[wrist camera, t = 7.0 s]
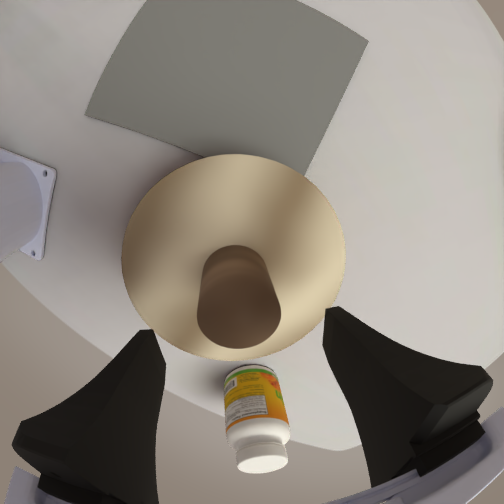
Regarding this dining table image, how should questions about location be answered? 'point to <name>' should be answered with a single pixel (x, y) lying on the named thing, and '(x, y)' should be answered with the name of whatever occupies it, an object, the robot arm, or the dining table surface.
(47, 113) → the dining table surface
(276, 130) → the mat
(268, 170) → the lid
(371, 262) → the dining table surface
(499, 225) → the dining table surface
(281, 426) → the supplement bottle
